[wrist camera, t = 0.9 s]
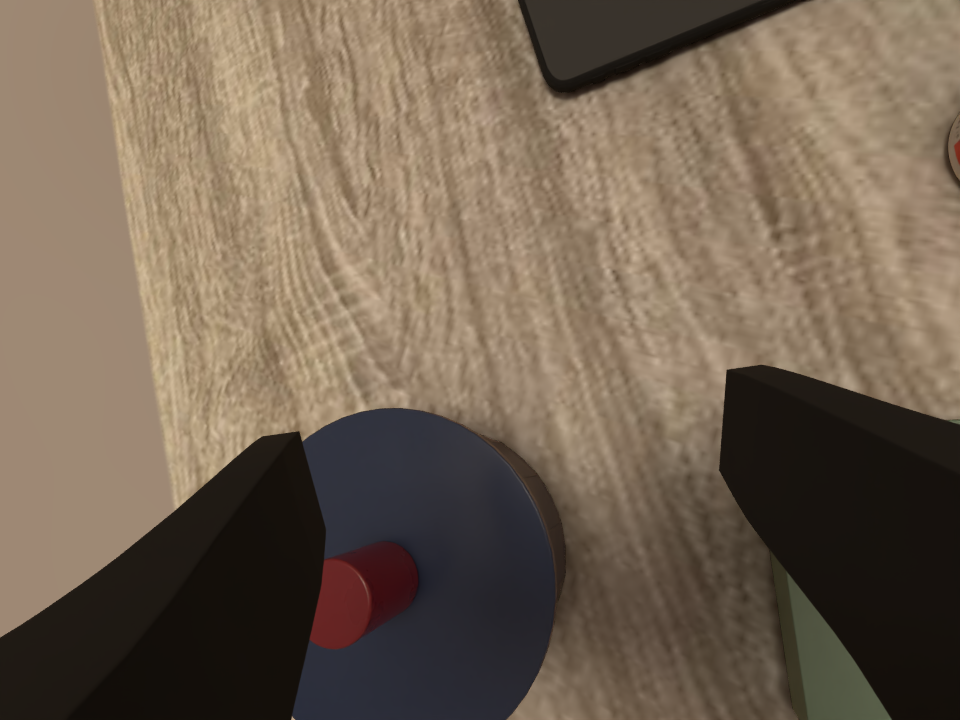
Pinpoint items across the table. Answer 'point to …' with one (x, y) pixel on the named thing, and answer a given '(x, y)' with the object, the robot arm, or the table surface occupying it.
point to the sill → (820, 660)
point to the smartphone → (623, 32)
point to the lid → (424, 574)
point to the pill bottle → (955, 146)
